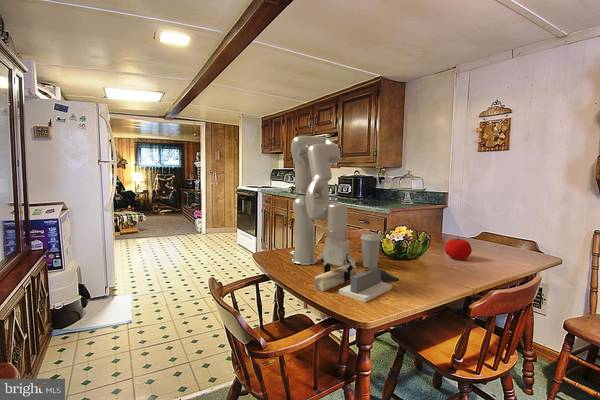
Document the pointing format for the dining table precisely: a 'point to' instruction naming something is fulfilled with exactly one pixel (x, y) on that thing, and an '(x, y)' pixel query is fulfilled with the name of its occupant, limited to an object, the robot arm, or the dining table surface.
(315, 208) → the robot arm
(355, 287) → the ridge stand
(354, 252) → the dining table surface
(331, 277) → the beam
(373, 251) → the coffee cup
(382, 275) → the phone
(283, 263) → the dining table surface
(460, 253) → the tomato
